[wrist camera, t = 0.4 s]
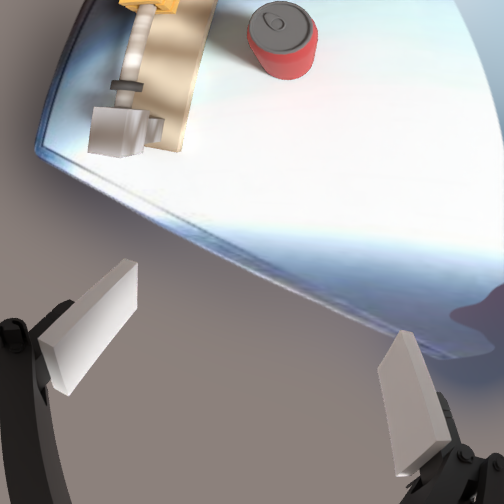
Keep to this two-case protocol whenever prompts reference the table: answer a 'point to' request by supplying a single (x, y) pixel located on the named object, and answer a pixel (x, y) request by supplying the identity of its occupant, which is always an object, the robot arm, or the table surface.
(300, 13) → the beer can
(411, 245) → the table surface
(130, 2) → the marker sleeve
